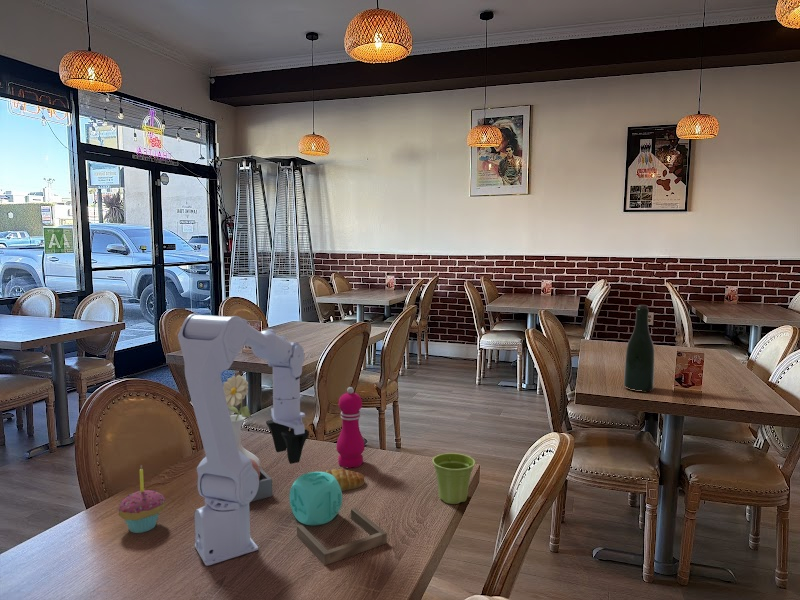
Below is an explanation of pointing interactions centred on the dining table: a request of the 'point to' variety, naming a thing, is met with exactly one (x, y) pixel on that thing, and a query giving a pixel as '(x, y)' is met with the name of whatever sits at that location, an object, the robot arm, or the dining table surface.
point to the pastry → (347, 478)
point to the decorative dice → (315, 498)
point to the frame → (348, 549)
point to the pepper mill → (350, 431)
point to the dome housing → (264, 486)
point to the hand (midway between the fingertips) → (287, 456)
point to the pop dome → (256, 467)
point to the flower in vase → (234, 395)
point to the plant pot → (453, 476)
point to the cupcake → (141, 508)
